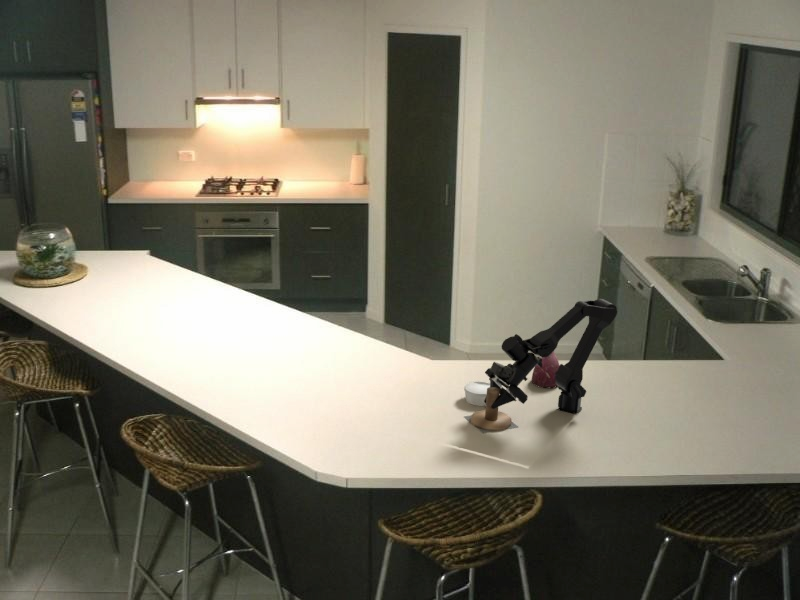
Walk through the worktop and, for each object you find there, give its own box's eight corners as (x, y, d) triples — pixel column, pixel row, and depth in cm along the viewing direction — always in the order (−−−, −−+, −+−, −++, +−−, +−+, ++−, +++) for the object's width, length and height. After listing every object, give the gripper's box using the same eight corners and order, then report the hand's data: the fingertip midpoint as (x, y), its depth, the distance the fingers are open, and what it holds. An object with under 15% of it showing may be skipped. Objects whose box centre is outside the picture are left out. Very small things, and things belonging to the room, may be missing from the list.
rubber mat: (498, 412, 330) (498, 410, 330) (518, 428, 319) (518, 427, 319) (463, 418, 325) (463, 416, 324) (482, 435, 313) (483, 433, 313)
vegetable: (538, 384, 363) (540, 342, 362) (565, 387, 357) (567, 345, 357) (526, 386, 354) (528, 343, 353) (553, 389, 348) (556, 346, 348)
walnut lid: (517, 419, 324) (520, 387, 321) (501, 434, 313) (504, 401, 310) (480, 410, 330) (482, 378, 326) (463, 424, 319) (465, 391, 315)
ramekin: (497, 396, 343) (498, 382, 341) (496, 410, 332) (497, 395, 330) (464, 394, 344) (465, 379, 342) (462, 407, 333) (463, 392, 331)
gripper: (492, 344, 324) (459, 380, 323) (522, 364, 308) (488, 402, 307) (511, 363, 330) (479, 399, 329) (541, 385, 314) (508, 422, 313)
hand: (488, 405), depth 319 cm, fingers closed on walnut lid, 4 cm apart
